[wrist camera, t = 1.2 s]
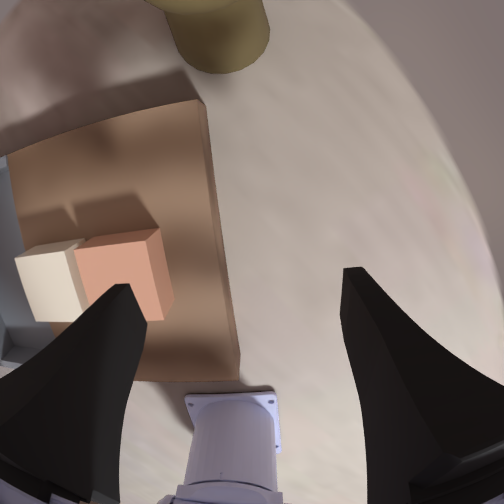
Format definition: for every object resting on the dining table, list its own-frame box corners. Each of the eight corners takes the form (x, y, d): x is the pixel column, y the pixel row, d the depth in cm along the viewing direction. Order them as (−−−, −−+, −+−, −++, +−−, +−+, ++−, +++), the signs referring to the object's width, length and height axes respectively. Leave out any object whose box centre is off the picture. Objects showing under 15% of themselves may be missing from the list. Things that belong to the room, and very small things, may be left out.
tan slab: (240, 355, 23) (238, 380, 21) (86, 355, 24) (72, 375, 21) (206, 106, 18) (197, 99, 15) (31, 151, 18) (7, 154, 16)
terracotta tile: (174, 299, 19) (164, 320, 16) (111, 302, 19) (95, 322, 17) (159, 227, 17) (145, 240, 15) (93, 236, 17) (73, 249, 15)
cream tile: (102, 303, 19) (86, 322, 17) (53, 304, 19) (35, 321, 17) (84, 238, 17) (63, 251, 15) (35, 245, 18) (14, 258, 15)
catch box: (86, 355, 24) (71, 377, 21) (15, 349, 25) (0, 365, 22) (31, 151, 18) (5, 155, 15) (-36, 181, 19) (-58, 187, 16)
